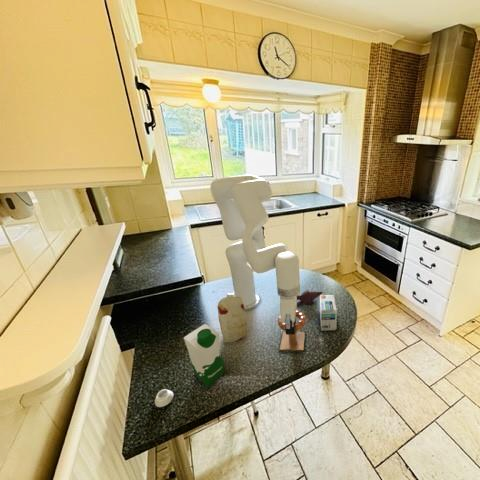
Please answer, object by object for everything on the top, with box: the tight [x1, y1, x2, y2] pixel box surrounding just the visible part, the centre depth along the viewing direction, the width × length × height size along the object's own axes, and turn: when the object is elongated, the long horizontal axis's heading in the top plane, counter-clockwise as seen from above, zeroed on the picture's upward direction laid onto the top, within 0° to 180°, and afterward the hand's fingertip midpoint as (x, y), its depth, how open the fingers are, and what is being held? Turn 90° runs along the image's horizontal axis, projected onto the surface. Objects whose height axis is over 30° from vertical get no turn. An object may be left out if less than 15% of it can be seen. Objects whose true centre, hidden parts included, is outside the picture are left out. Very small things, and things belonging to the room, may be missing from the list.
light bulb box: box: [319, 294, 338, 332], centre depth 110 cm, size 11×7×11 cm, turn 4°
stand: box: [279, 331, 306, 351], centre depth 99 cm, size 9×9×11 cm
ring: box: [277, 309, 307, 332], centre depth 96 cm, size 10×10×2 cm
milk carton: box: [183, 323, 226, 388], centre depth 84 cm, size 9×9×20 cm
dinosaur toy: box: [297, 289, 324, 307], centre depth 122 cm, size 7×7×15 cm
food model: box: [216, 296, 248, 343], centre depth 99 cm, size 10×7×20 cm
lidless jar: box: [154, 388, 174, 408], centre depth 79 cm, size 5×3×5 cm
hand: (290, 329), depth 93 cm, fingers closed on ring, 2 cm apart
